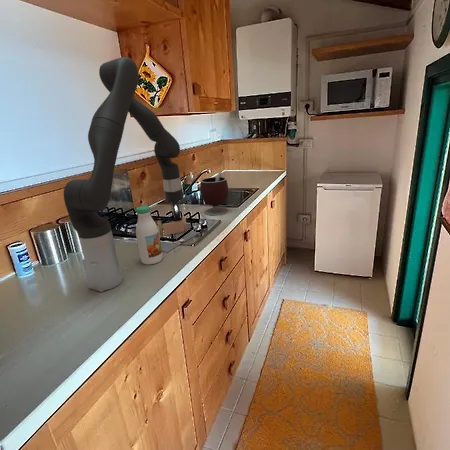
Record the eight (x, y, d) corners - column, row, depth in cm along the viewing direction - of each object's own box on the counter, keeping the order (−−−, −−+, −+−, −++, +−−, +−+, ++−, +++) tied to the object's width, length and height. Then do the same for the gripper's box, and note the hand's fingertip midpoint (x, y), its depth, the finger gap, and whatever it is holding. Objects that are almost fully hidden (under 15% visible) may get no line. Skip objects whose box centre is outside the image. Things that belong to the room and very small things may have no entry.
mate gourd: (221, 217, 147) (217, 177, 140) (197, 215, 154) (193, 176, 147) (235, 208, 160) (233, 170, 153) (213, 206, 166) (210, 170, 159)
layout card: (167, 252, 114) (167, 251, 113) (137, 246, 122) (137, 245, 122) (201, 232, 131) (201, 231, 131) (173, 227, 139) (173, 226, 139)
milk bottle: (141, 266, 104) (130, 212, 97) (141, 257, 111) (131, 205, 104) (163, 262, 106) (154, 208, 99) (162, 253, 113) (153, 202, 106)
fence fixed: (143, 247, 120) (140, 230, 117) (140, 246, 120) (137, 230, 118) (164, 236, 129) (161, 220, 127) (161, 235, 130) (159, 220, 127)
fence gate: (164, 235, 128) (162, 221, 126) (163, 234, 130) (161, 220, 127) (187, 231, 132) (185, 217, 129) (186, 229, 133) (185, 216, 131)
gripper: (163, 185, 133) (169, 222, 139) (164, 193, 120) (170, 233, 127) (180, 183, 134) (185, 219, 140) (183, 191, 122) (188, 230, 128)
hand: (178, 226), depth 134 cm, fingers closed
